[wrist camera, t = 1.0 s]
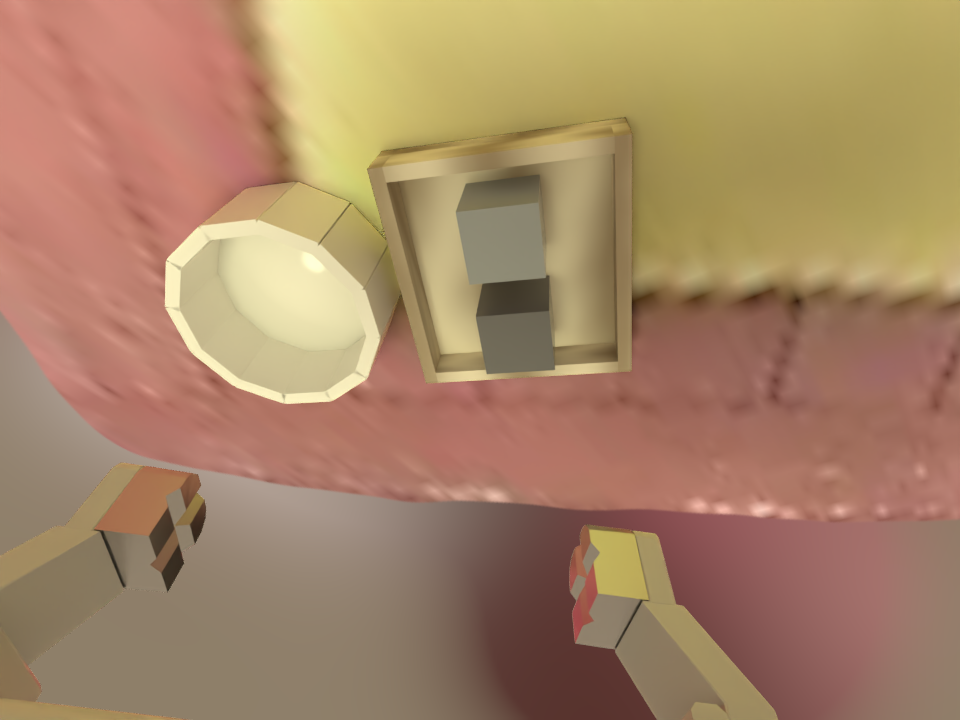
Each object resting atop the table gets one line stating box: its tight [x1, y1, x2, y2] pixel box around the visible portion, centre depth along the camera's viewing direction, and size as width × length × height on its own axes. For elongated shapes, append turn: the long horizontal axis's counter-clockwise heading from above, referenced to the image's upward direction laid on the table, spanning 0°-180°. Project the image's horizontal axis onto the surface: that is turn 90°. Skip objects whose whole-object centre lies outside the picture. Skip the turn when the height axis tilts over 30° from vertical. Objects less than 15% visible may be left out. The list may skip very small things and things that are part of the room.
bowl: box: [165, 181, 401, 404], centre depth 33 cm, size 12×12×6 cm
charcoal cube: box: [476, 275, 555, 374], centre depth 33 cm, size 4×4×4 cm
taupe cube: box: [456, 174, 547, 285], centre depth 29 cm, size 4×4×4 cm
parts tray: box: [367, 118, 632, 383], centre depth 32 cm, size 13×14×3 cm
